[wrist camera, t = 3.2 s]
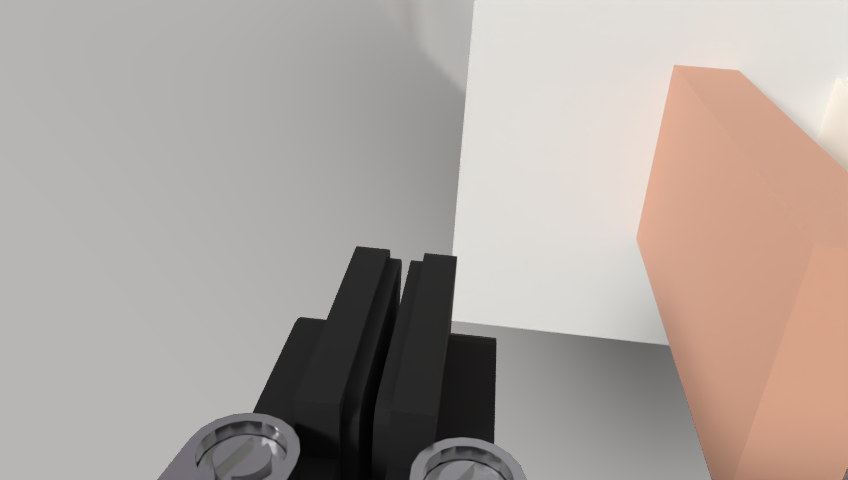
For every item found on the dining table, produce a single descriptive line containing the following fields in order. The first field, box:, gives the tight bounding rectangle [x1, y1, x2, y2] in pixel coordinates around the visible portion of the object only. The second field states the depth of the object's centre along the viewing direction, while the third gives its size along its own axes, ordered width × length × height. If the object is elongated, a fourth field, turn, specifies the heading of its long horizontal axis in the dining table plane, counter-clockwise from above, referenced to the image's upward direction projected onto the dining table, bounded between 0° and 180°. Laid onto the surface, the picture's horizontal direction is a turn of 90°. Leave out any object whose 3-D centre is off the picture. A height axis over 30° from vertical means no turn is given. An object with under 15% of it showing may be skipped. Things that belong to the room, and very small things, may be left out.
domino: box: [636, 65, 848, 480], centre depth 15 cm, size 2×5×10 cm, turn 176°
